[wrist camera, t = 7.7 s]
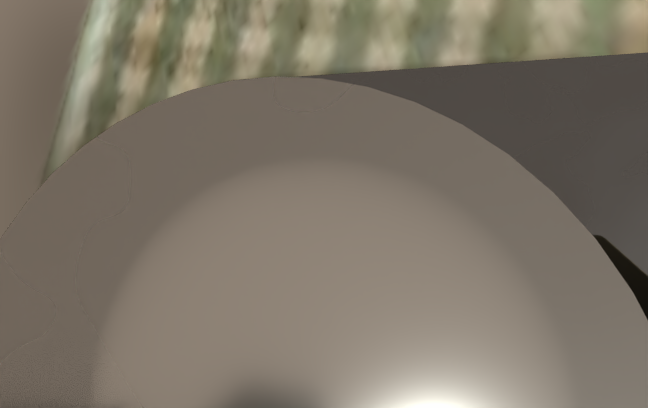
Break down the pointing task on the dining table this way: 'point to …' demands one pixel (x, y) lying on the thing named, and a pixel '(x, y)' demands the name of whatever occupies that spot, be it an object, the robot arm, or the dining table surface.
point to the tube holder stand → (553, 129)
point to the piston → (308, 266)
